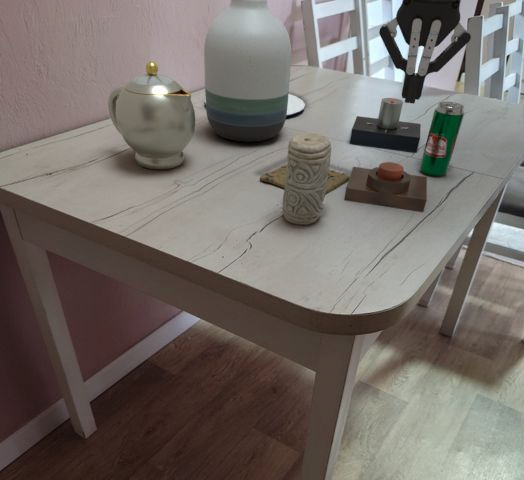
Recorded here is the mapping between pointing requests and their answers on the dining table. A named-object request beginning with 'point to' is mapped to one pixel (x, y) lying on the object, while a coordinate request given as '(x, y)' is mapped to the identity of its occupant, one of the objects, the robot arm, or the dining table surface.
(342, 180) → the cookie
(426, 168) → the soda can
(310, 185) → the carving
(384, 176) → the release button
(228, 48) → the vase
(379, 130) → the dial panel
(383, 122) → the dial
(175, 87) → the teapot
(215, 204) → the dining table surface
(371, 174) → the button console
